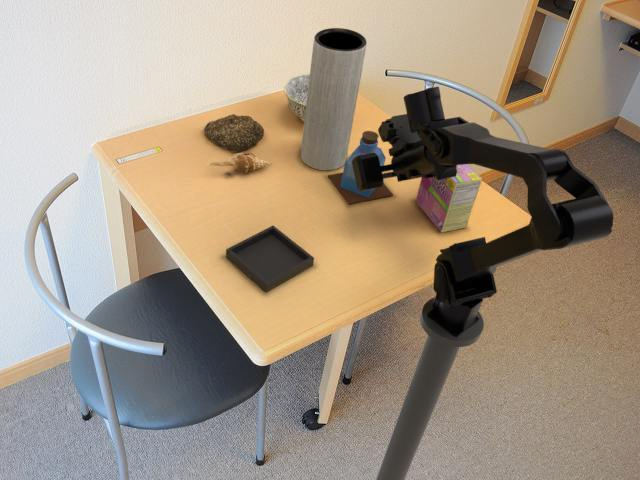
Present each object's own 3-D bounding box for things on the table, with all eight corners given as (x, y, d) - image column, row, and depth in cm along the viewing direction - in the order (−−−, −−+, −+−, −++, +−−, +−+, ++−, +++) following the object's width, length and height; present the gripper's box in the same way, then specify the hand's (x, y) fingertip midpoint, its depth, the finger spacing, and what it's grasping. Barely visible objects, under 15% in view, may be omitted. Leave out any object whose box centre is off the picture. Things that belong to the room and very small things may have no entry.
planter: (292, 150, 145) (305, 31, 126) (331, 141, 148) (350, 24, 129) (313, 175, 138) (330, 54, 120) (354, 165, 141) (377, 46, 123)
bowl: (272, 104, 159) (275, 76, 154) (334, 97, 162) (338, 69, 157) (294, 140, 148) (297, 110, 143) (359, 132, 151) (364, 103, 146)
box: (414, 201, 133) (427, 152, 125) (438, 196, 134) (453, 148, 126) (440, 233, 126) (456, 184, 118) (465, 228, 127) (483, 179, 119)
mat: (392, 196, 134) (393, 194, 134) (348, 205, 131) (349, 203, 131) (370, 168, 141) (370, 167, 141) (327, 176, 138) (328, 175, 138)
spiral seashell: (256, 156, 143) (257, 139, 140) (271, 167, 140) (272, 149, 137) (205, 177, 137) (205, 159, 134) (219, 189, 134) (219, 170, 131)
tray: (313, 265, 118) (314, 257, 117) (265, 292, 113) (266, 284, 112) (272, 233, 124) (273, 225, 123) (225, 257, 119) (226, 249, 118)
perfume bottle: (380, 182, 137) (391, 133, 128) (368, 197, 133) (378, 147, 124) (353, 172, 139) (362, 123, 130) (340, 187, 135) (349, 137, 127)
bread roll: (230, 158, 142) (231, 138, 138) (196, 132, 149) (196, 113, 145) (275, 138, 148) (276, 119, 145) (240, 115, 155) (241, 96, 151)
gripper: (461, 102, 114) (414, 125, 129) (365, 118, 109) (328, 140, 124) (474, 165, 114) (426, 181, 129) (379, 184, 109) (341, 198, 124)
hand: (381, 174), depth 126 cm, fingers open, 9 cm apart
